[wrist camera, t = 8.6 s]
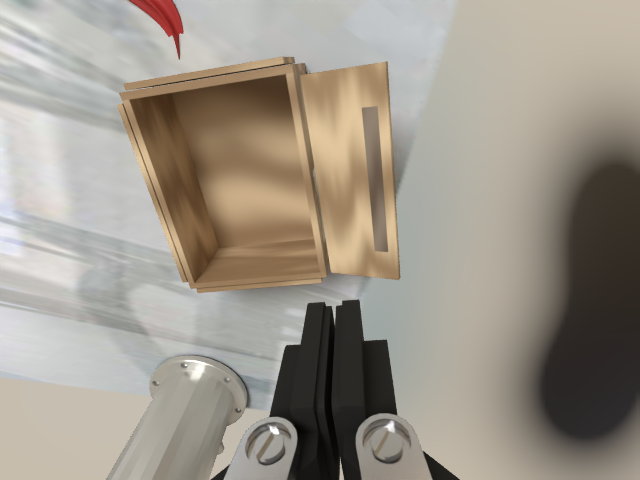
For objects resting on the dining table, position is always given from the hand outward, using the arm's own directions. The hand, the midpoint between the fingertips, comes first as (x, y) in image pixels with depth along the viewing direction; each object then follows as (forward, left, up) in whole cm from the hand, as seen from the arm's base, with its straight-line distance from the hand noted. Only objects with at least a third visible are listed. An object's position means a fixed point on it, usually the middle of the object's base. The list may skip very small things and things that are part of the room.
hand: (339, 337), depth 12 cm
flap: (0, +2, -16) cm, 16 cm away
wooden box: (0, +8, -23) cm, 25 cm away
